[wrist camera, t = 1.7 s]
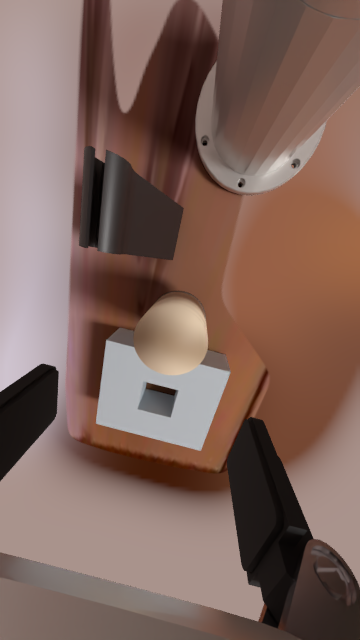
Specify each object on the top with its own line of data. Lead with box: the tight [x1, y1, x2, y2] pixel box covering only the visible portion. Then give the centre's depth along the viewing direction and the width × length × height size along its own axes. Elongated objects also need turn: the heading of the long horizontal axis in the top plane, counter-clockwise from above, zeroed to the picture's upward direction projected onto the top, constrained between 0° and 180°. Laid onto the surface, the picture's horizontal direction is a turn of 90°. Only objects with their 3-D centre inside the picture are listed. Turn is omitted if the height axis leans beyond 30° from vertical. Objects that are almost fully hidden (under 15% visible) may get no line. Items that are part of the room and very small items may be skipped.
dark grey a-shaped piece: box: [79, 146, 184, 260], centre depth 19 cm, size 9×6×12 cm, turn 77°
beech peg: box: [133, 291, 208, 375], centre depth 22 cm, size 6×6×11 cm
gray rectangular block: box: [96, 328, 230, 451], centre depth 29 cm, size 14×16×4 cm
